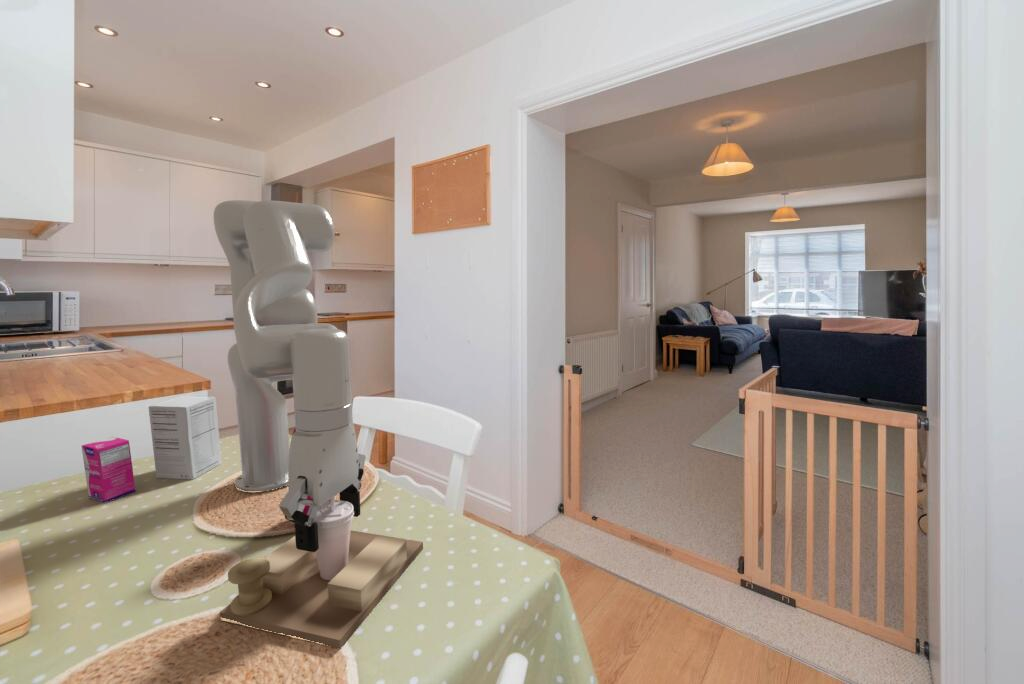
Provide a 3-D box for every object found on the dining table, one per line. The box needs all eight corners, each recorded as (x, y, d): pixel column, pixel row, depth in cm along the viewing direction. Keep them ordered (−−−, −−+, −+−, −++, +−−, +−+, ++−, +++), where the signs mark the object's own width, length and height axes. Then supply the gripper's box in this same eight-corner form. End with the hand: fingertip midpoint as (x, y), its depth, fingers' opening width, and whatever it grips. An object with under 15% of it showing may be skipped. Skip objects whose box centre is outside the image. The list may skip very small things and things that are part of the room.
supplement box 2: (187, 462, 114) (181, 395, 112) (223, 463, 113) (217, 395, 111) (154, 478, 105) (146, 405, 103) (192, 480, 104) (185, 406, 102)
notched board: (329, 533, 82) (327, 499, 81) (423, 548, 77) (422, 513, 76) (220, 620, 61) (216, 576, 60) (340, 649, 56) (337, 601, 55)
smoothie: (329, 592, 64) (324, 496, 62) (300, 576, 68) (294, 485, 66) (365, 567, 70) (362, 479, 68) (337, 553, 73) (333, 469, 71)
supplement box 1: (87, 498, 95) (80, 444, 94) (120, 487, 101) (114, 435, 99) (103, 503, 93) (96, 448, 91) (137, 491, 98) (131, 439, 97)
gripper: (339, 399, 75) (344, 500, 77) (253, 434, 58) (263, 561, 61) (381, 403, 73) (384, 506, 75) (304, 439, 56) (312, 570, 59)
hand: (330, 531), depth 68 cm, fingers open, 9 cm apart
